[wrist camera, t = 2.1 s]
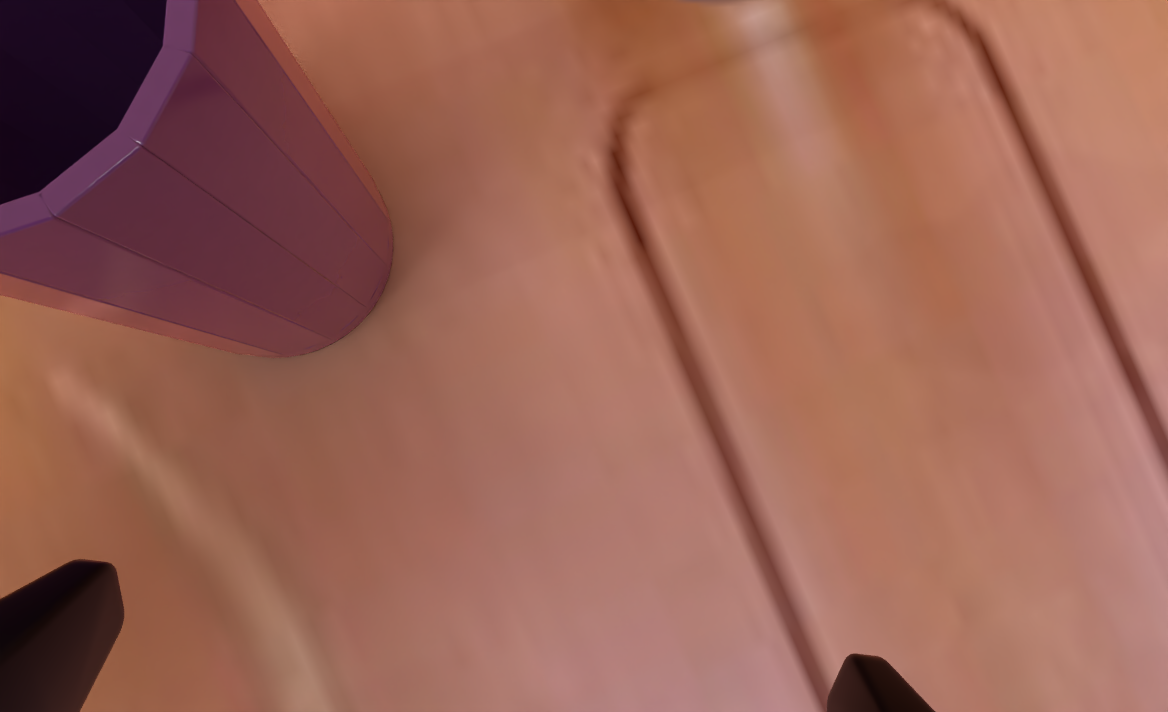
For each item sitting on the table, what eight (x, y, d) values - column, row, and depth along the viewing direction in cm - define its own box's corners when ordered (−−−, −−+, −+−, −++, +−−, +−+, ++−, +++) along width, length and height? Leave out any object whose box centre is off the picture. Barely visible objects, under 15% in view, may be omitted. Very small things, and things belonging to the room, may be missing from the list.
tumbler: (269, 405, 21) (-133, 371, 8) (114, 240, 22) (-513, -42, 9) (439, 252, 22) (310, 8, 9) (289, 94, 22) (-43, -361, 9)
